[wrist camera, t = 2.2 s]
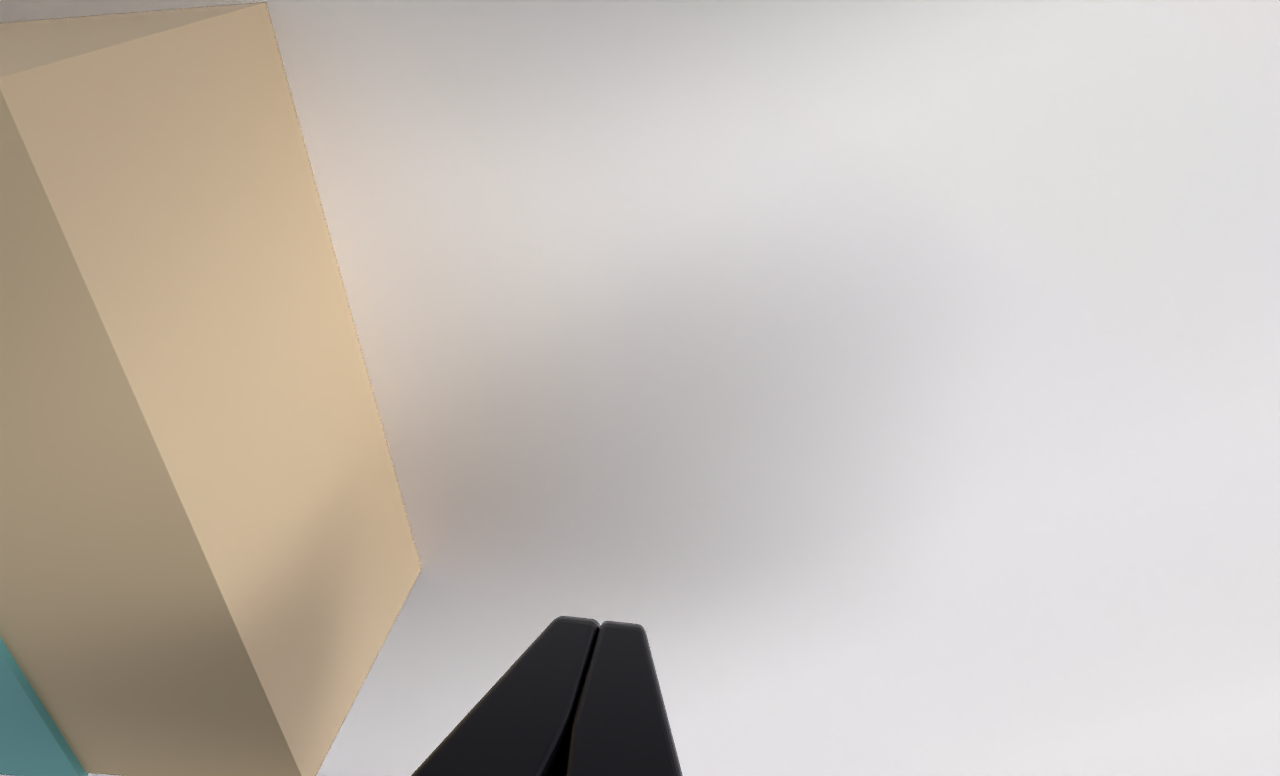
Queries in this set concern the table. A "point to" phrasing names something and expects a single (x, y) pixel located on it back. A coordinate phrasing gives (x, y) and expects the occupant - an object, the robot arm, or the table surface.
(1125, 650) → the table surface
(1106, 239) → the table surface
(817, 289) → the table surface
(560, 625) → the robot arm
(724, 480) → the table surface
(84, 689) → the carton
